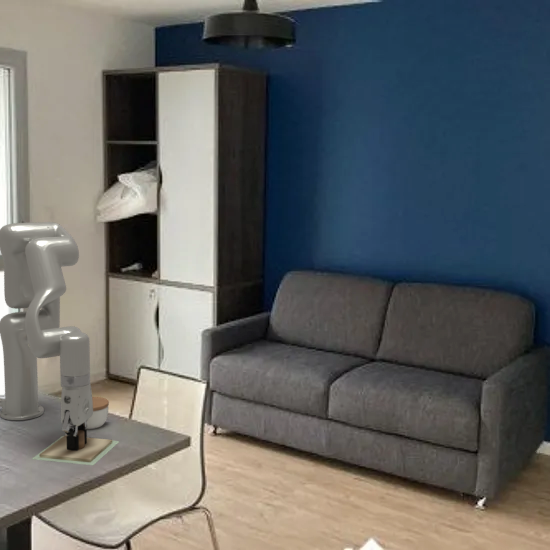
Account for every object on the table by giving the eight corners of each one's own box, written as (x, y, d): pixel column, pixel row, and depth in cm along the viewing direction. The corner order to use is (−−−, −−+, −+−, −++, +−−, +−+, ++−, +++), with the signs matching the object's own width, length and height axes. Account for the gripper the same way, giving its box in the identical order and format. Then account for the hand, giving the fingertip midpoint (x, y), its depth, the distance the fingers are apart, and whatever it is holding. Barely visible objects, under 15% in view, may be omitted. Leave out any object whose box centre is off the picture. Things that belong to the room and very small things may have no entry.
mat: (31, 462, 194) (31, 459, 194) (62, 439, 210) (62, 435, 210) (93, 469, 191) (93, 465, 191) (119, 444, 207) (119, 441, 207)
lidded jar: (99, 435, 214) (99, 403, 212) (64, 432, 216) (63, 400, 214) (115, 423, 224) (114, 392, 223) (81, 420, 226) (80, 390, 225)
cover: (39, 457, 195) (39, 439, 194) (64, 438, 209) (64, 421, 208) (90, 462, 192) (89, 444, 192) (112, 442, 206) (112, 425, 205)
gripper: (74, 390, 189) (75, 459, 191) (102, 372, 205) (103, 436, 208) (46, 387, 190) (48, 457, 193) (76, 370, 206) (77, 434, 209)
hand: (76, 445), depth 200 cm, fingers closed on cover, 4 cm apart
